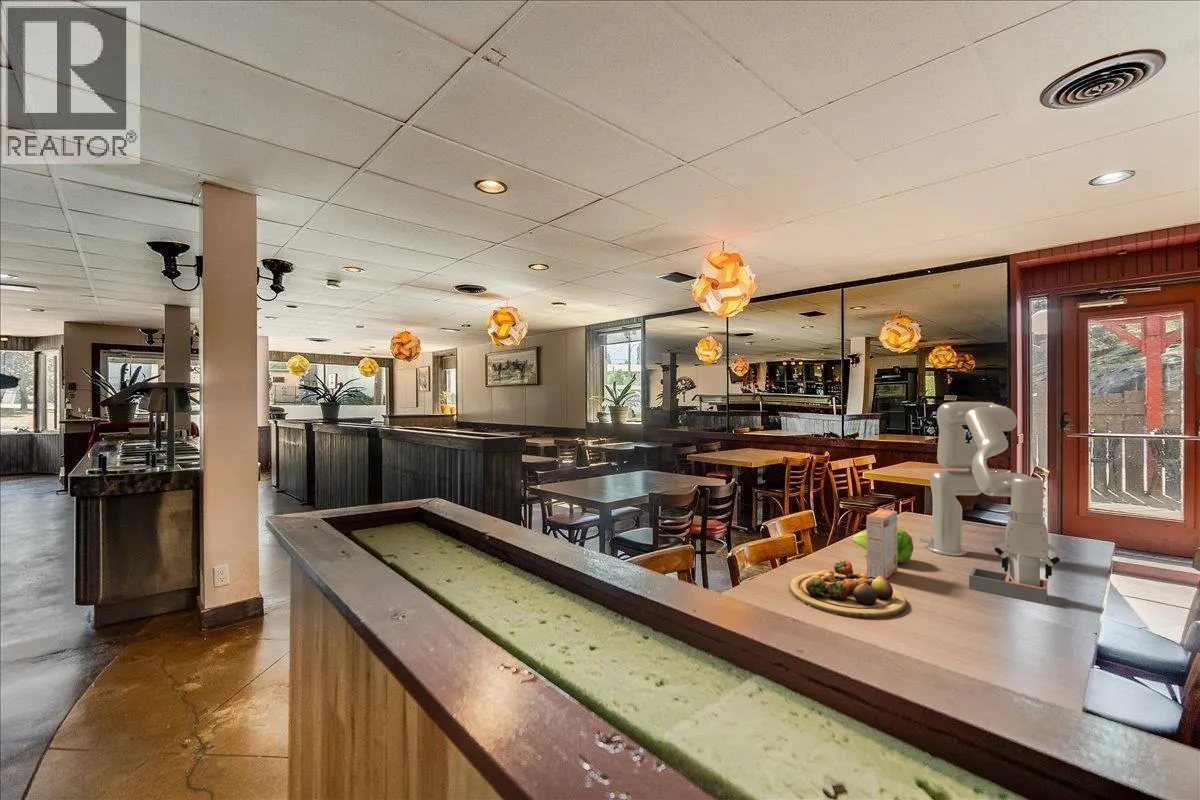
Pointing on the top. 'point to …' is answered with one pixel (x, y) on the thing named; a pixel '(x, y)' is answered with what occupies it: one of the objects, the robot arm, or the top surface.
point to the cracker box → (881, 543)
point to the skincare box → (1025, 570)
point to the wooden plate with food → (848, 593)
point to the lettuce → (903, 544)
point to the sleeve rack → (1006, 586)
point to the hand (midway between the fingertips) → (1026, 574)
